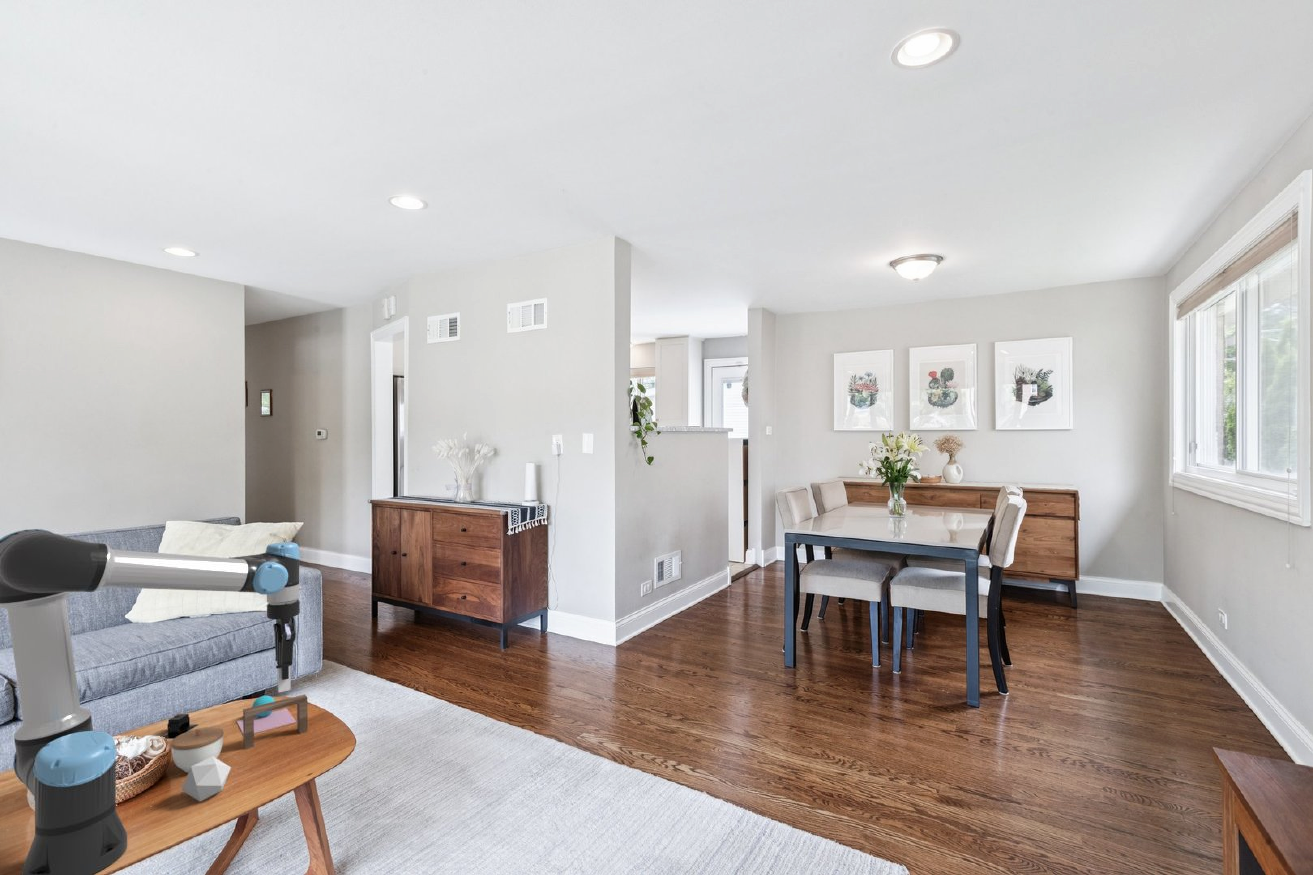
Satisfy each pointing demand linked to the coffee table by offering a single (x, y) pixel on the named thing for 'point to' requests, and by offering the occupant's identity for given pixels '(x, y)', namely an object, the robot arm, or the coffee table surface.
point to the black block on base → (178, 726)
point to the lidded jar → (196, 746)
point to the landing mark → (271, 721)
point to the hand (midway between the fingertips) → (284, 690)
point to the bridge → (250, 712)
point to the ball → (262, 701)
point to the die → (206, 778)
